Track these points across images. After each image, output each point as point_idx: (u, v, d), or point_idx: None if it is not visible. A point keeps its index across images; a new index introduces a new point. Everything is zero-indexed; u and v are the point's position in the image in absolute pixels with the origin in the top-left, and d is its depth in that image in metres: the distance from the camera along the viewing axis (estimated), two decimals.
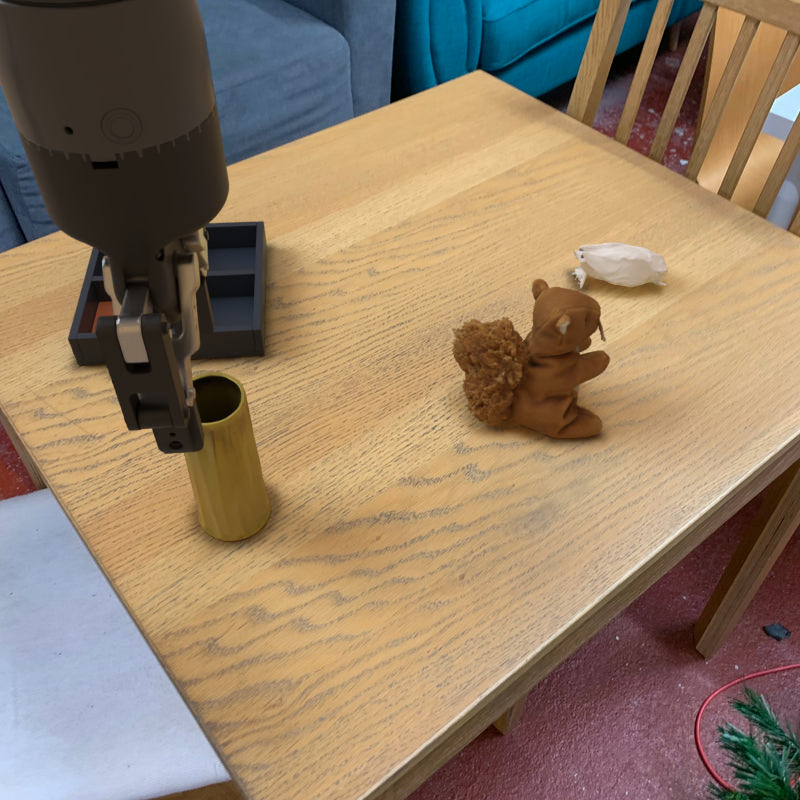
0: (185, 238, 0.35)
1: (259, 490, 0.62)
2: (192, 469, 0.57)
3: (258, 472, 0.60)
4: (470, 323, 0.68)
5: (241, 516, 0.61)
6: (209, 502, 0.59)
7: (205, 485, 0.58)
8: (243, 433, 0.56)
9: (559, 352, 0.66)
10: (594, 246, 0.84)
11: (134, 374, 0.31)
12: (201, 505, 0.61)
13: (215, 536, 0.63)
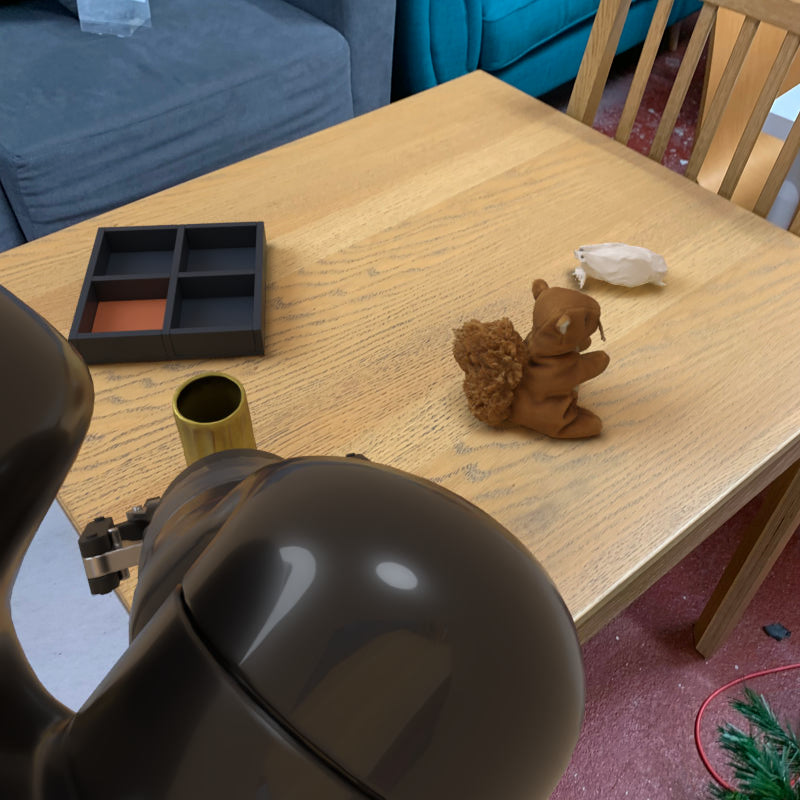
0: None
1: None
2: None
3: None
4: (470, 323, 0.68)
5: None
6: None
7: None
8: (243, 433, 0.56)
9: (559, 352, 0.66)
10: (594, 246, 0.84)
11: None
12: None
13: None
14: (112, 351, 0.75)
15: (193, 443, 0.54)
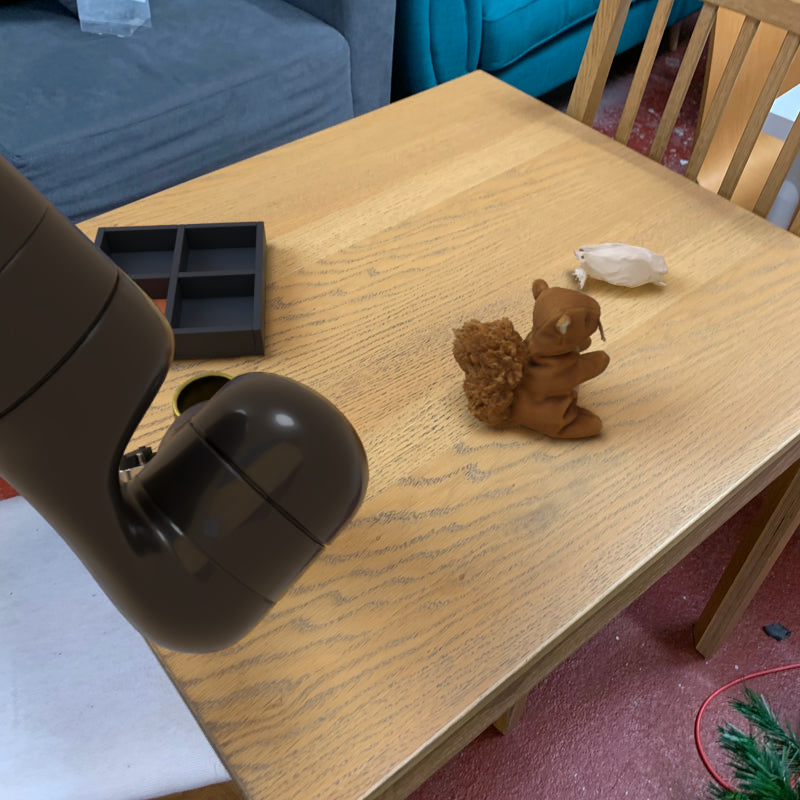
0: None
1: None
2: None
3: None
4: (470, 323, 0.68)
5: None
6: None
7: None
8: None
9: (559, 352, 0.66)
10: (594, 246, 0.84)
11: None
12: None
13: None
14: None
15: None
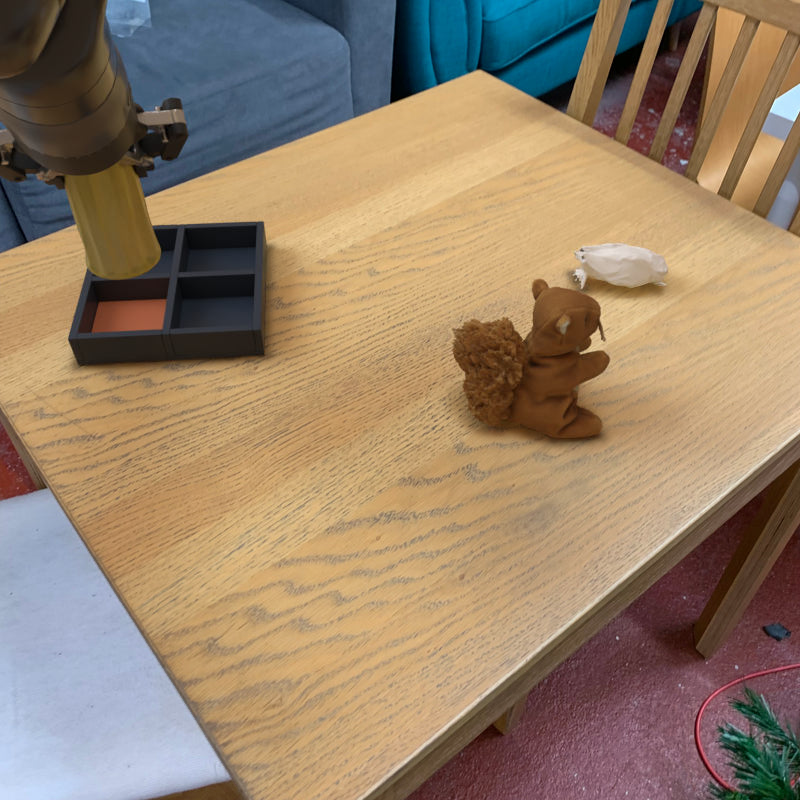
0: None
1: (143, 223, 0.61)
2: (66, 181, 0.57)
3: (139, 199, 0.59)
4: (470, 323, 0.68)
5: (123, 247, 0.60)
6: (88, 226, 0.59)
7: (81, 201, 0.57)
8: None
9: (559, 352, 0.66)
10: (595, 247, 0.84)
11: None
12: (82, 234, 0.60)
13: (100, 274, 0.62)
14: (112, 351, 0.75)
15: None
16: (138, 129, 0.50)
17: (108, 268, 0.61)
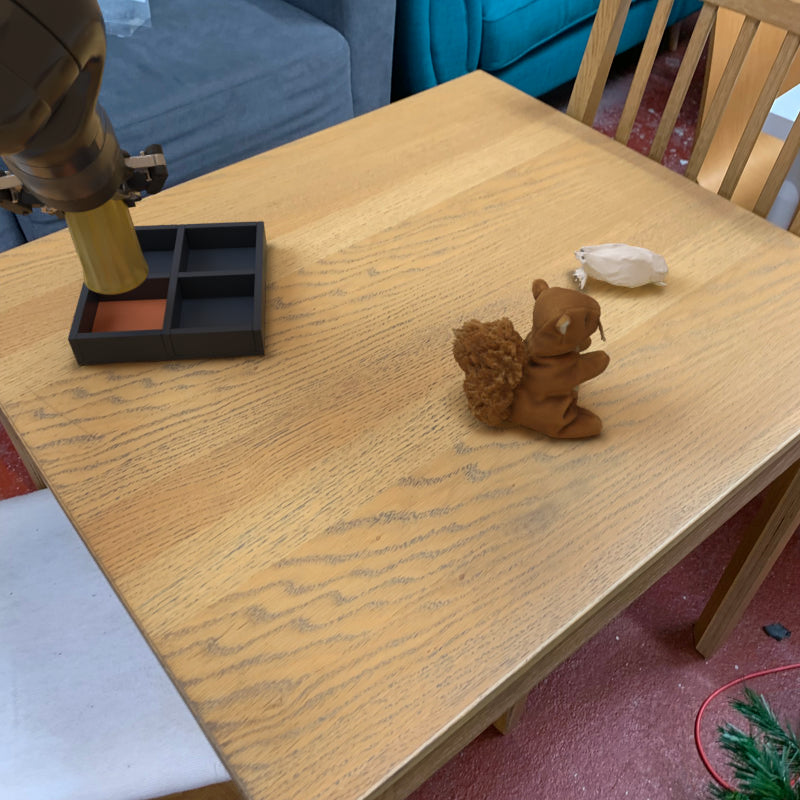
0: None
1: (132, 246, 0.71)
2: (66, 213, 0.67)
3: (128, 226, 0.70)
4: (470, 323, 0.68)
5: (115, 267, 0.70)
6: (85, 249, 0.69)
7: (78, 229, 0.67)
8: None
9: (559, 352, 0.66)
10: (595, 247, 0.84)
11: None
12: (80, 256, 0.70)
13: (96, 290, 0.72)
14: (112, 351, 0.75)
15: None
16: (125, 172, 0.60)
17: (103, 285, 0.71)
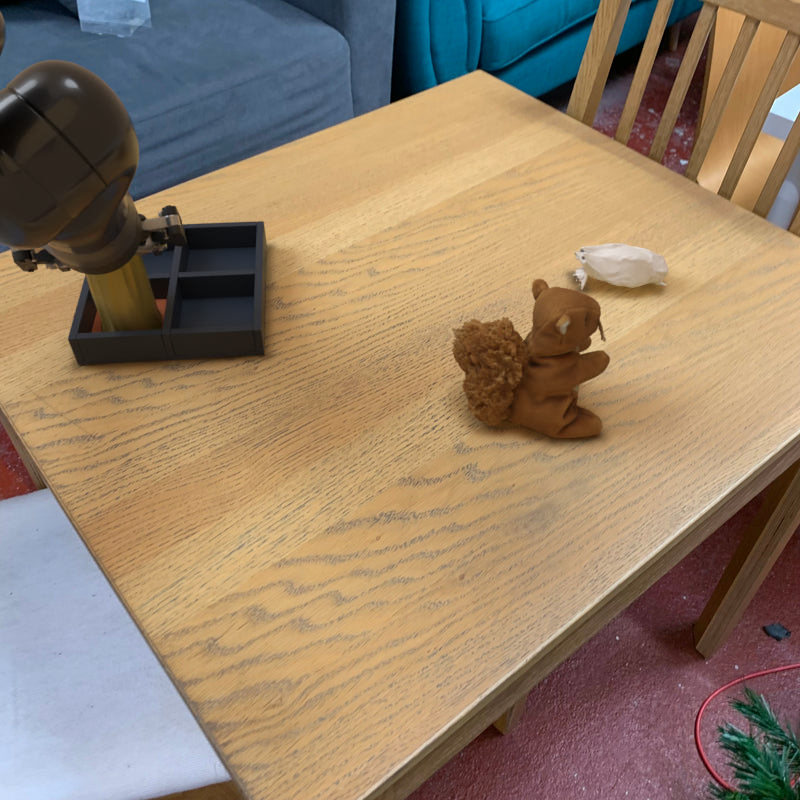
0: None
1: (148, 300, 0.76)
2: None
3: (145, 282, 0.74)
4: (470, 323, 0.68)
5: (132, 320, 0.75)
6: (104, 304, 0.74)
7: (98, 287, 0.72)
8: None
9: (559, 352, 0.66)
10: (595, 247, 0.84)
11: None
12: (99, 310, 0.75)
13: None
14: (112, 351, 0.75)
15: None
16: (142, 235, 0.64)
17: None
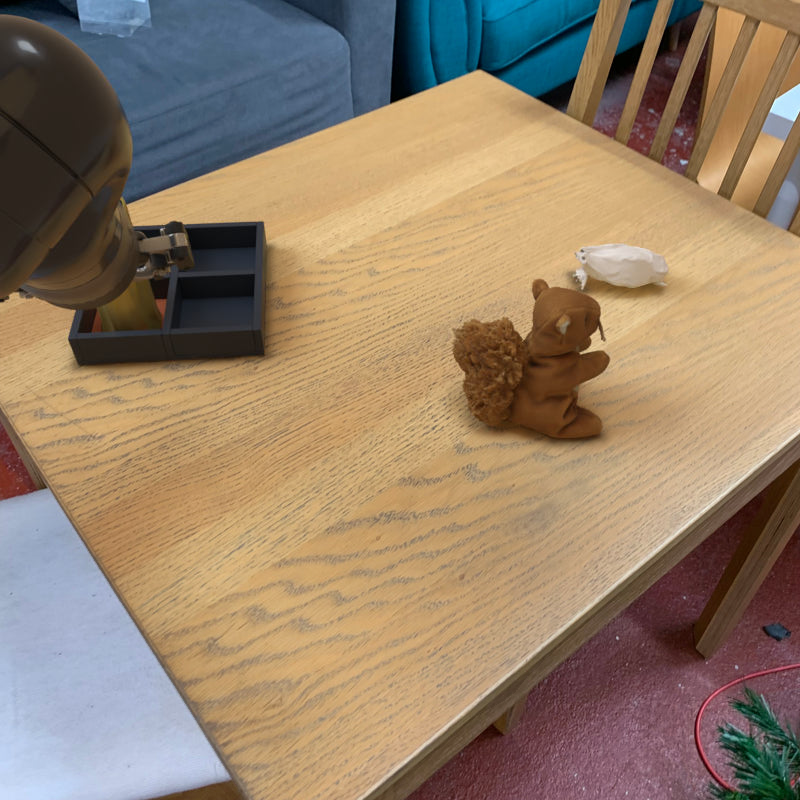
0: None
1: (148, 300, 0.76)
2: None
3: (145, 282, 0.74)
4: (470, 323, 0.68)
5: (132, 320, 0.75)
6: None
7: None
8: None
9: (559, 352, 0.66)
10: (595, 247, 0.84)
11: None
12: (99, 310, 0.75)
13: None
14: (112, 351, 0.75)
15: None
16: (140, 259, 0.51)
17: None
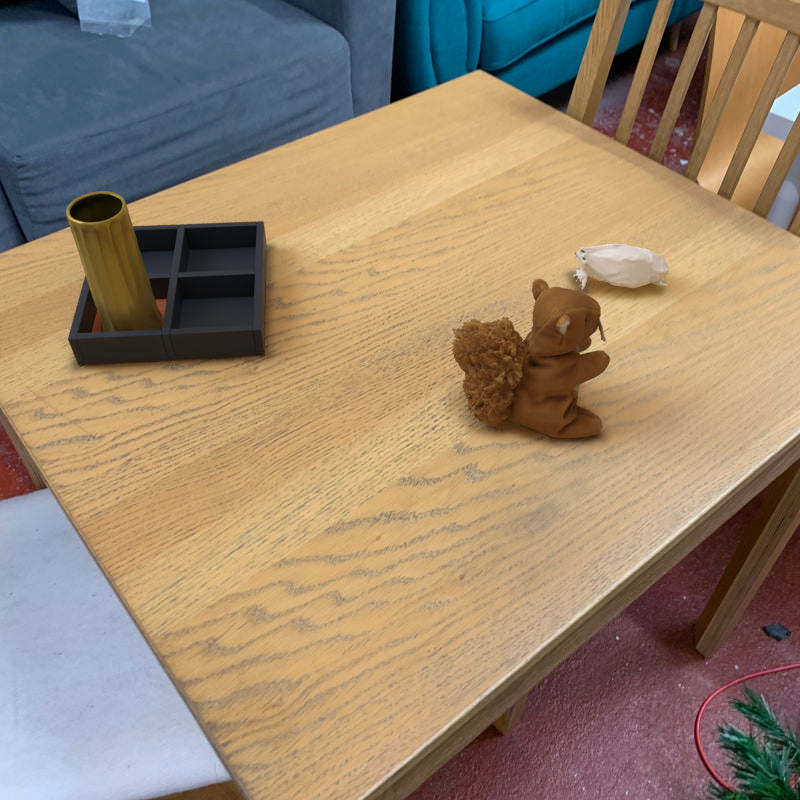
0: None
1: (148, 300, 0.76)
2: (87, 272, 0.71)
3: (145, 282, 0.74)
4: (470, 323, 0.68)
5: (132, 320, 0.75)
6: (104, 304, 0.74)
7: (98, 287, 0.72)
8: (125, 238, 0.70)
9: (559, 352, 0.66)
10: (595, 247, 0.84)
11: None
12: (99, 310, 0.75)
13: None
14: (112, 351, 0.75)
15: (83, 243, 0.69)
16: None
17: None
